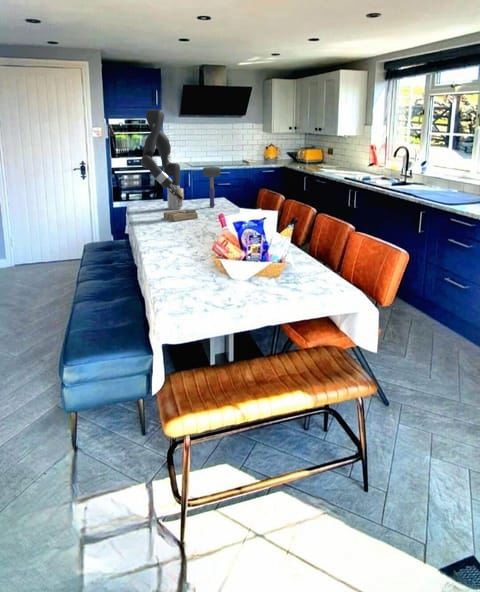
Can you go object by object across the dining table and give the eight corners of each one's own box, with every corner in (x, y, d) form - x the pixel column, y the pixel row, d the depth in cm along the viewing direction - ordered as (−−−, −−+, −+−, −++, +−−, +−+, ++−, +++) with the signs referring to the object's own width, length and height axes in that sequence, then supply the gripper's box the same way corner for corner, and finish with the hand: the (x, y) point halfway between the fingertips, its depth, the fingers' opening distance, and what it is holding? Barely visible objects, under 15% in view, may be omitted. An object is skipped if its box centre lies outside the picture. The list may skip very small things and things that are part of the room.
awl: (175, 206, 346) (174, 188, 342) (181, 205, 349) (180, 188, 345) (178, 207, 342) (178, 189, 338) (185, 206, 345) (184, 188, 341)
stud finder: (185, 212, 346) (185, 209, 345) (193, 211, 350) (193, 208, 349) (188, 213, 344) (188, 210, 343) (195, 212, 347) (195, 209, 346)
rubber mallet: (219, 206, 391) (218, 166, 380) (221, 207, 384) (220, 167, 373) (203, 206, 389) (202, 166, 378) (204, 208, 382) (203, 167, 371)
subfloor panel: (163, 217, 349) (163, 212, 347) (186, 214, 359) (186, 209, 358) (174, 221, 338) (174, 215, 336) (197, 218, 348) (197, 212, 346)
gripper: (165, 177, 332) (184, 196, 335) (170, 174, 346) (188, 192, 349) (158, 185, 335) (176, 204, 338) (163, 182, 348) (181, 200, 351)
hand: (182, 198), depth 343 cm, fingers closed on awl, 5 cm apart
